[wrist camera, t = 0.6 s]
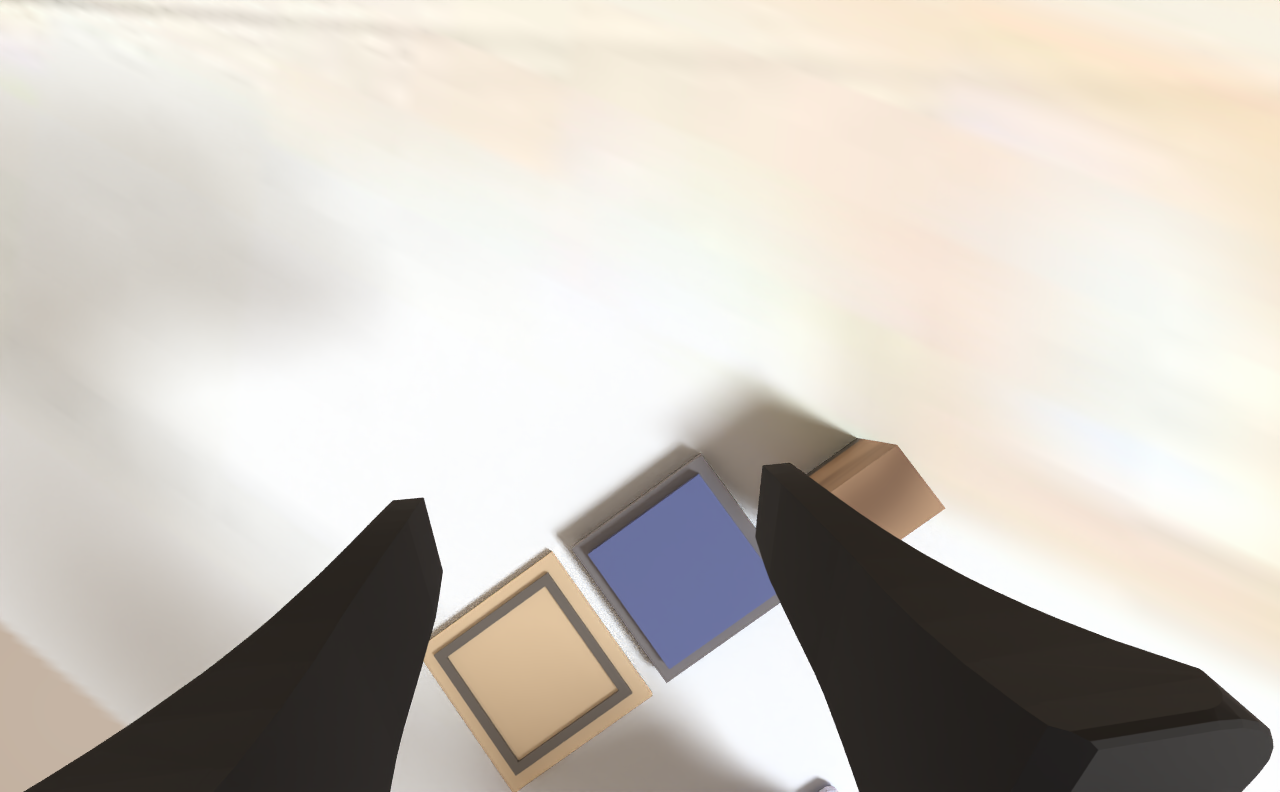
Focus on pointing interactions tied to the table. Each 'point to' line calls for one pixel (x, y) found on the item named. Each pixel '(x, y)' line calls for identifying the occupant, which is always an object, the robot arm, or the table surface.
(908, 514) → the brown rectangular block
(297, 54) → the table surface
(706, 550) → the ink pad
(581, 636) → the marked card
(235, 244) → the table surface
